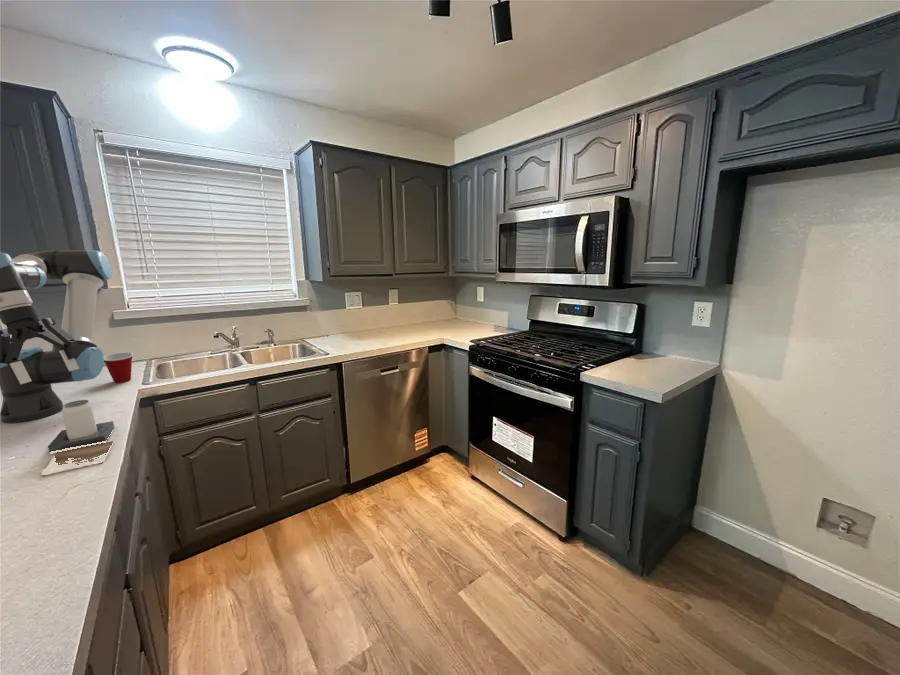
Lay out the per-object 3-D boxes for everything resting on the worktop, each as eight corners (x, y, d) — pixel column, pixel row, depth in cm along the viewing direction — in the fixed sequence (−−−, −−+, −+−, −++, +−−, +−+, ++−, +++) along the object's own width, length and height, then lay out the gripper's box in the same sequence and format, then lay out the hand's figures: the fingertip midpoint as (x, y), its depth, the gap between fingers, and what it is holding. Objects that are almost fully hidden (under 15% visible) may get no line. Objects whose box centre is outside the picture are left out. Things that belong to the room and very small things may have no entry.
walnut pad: (57, 455, 106) (56, 452, 105) (113, 444, 112) (112, 441, 112) (41, 476, 96) (40, 472, 96) (103, 462, 102) (103, 459, 102)
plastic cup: (107, 386, 162) (101, 360, 159) (105, 381, 170) (100, 355, 167) (139, 380, 170) (134, 355, 167) (136, 375, 177) (131, 350, 174)
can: (95, 433, 119) (87, 397, 116) (101, 439, 115) (93, 402, 113) (67, 441, 114) (58, 404, 111) (72, 447, 110) (62, 409, 107)
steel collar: (63, 437, 116) (61, 430, 116) (114, 428, 122) (112, 421, 122) (50, 454, 106) (47, 446, 106) (106, 443, 113) (104, 435, 112)
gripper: (-47, 321, 103) (-8, 392, 108) (49, 297, 106) (84, 367, 110) (-18, 317, 111) (18, 384, 115) (72, 295, 113) (103, 361, 117)
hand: (50, 376), depth 113 cm, fingers open, 13 cm apart
